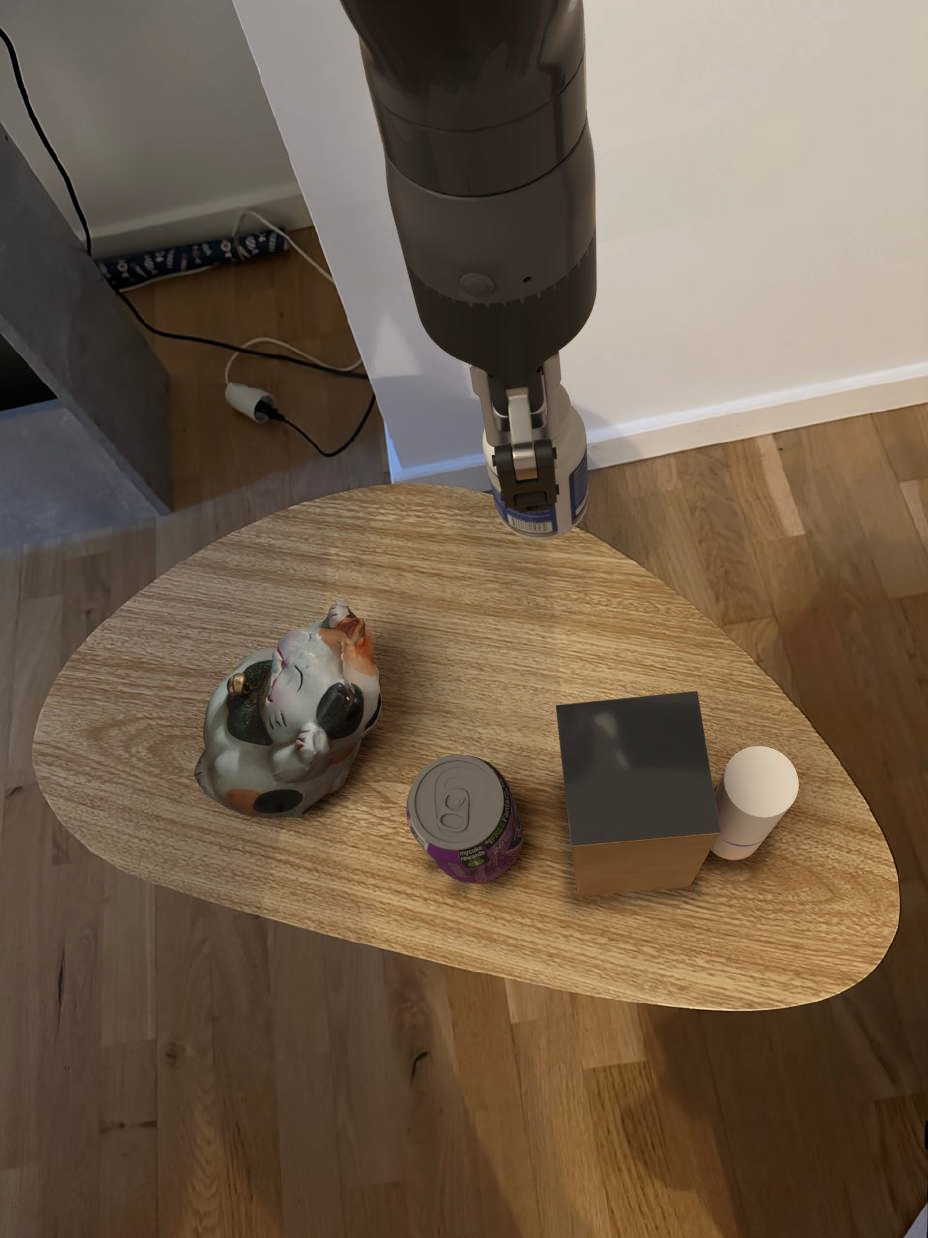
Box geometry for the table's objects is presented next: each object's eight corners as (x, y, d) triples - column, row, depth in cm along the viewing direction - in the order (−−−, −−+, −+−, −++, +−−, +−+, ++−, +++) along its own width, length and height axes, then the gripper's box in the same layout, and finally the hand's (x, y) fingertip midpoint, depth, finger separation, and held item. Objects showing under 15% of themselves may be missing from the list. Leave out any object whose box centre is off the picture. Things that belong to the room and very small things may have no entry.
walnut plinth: (673, 777, 77) (696, 692, 59) (690, 887, 74) (719, 834, 56) (566, 787, 78) (555, 707, 59) (577, 897, 75) (570, 847, 56)
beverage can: (515, 892, 75) (500, 865, 64) (420, 876, 76) (390, 847, 65) (531, 797, 78) (519, 755, 67) (439, 782, 79) (412, 739, 68)
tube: (728, 788, 76) (756, 731, 62) (774, 829, 75) (813, 780, 61) (689, 830, 75) (708, 782, 62) (735, 872, 74) (766, 832, 60)
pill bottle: (554, 445, 61) (545, 342, 52) (607, 511, 59) (607, 415, 50) (477, 492, 60) (454, 396, 51) (527, 560, 58) (513, 473, 49)
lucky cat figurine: (233, 643, 85) (265, 543, 75) (370, 691, 87) (421, 600, 77) (170, 803, 76) (196, 715, 66) (325, 853, 78) (375, 775, 68)
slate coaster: (696, 692, 59) (697, 690, 58) (719, 834, 56) (720, 832, 55) (555, 707, 59) (555, 704, 59) (570, 847, 56) (570, 846, 56)
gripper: (619, 360, 36) (615, 567, 52) (574, 66, 42) (583, 333, 57) (406, 388, 37) (466, 584, 52) (390, 95, 42) (448, 351, 58)
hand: (527, 452), depth 55 cm, fingers closed on pill bottle, 5 cm apart
